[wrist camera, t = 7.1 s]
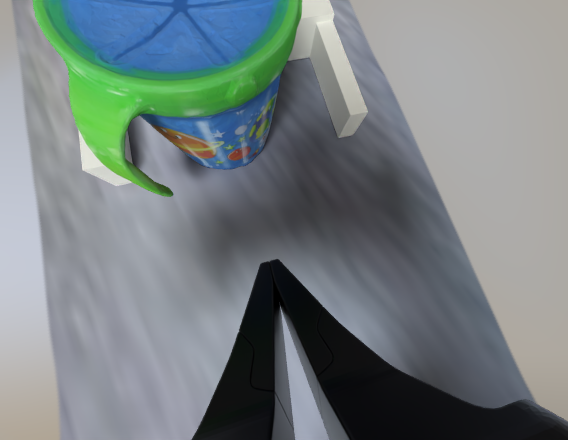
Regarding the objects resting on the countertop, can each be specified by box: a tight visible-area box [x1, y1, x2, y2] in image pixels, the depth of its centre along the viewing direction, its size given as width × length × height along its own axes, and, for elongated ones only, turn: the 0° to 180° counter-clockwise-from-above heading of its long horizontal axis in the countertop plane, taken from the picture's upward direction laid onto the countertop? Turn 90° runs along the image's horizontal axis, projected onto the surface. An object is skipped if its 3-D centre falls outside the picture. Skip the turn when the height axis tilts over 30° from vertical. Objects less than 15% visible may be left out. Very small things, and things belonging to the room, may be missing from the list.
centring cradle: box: [79, 0, 368, 186], centre depth 15 cm, size 11×21×7 cm, turn 105°
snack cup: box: [33, 0, 302, 197], centre depth 13 cm, size 16×10×10 cm
